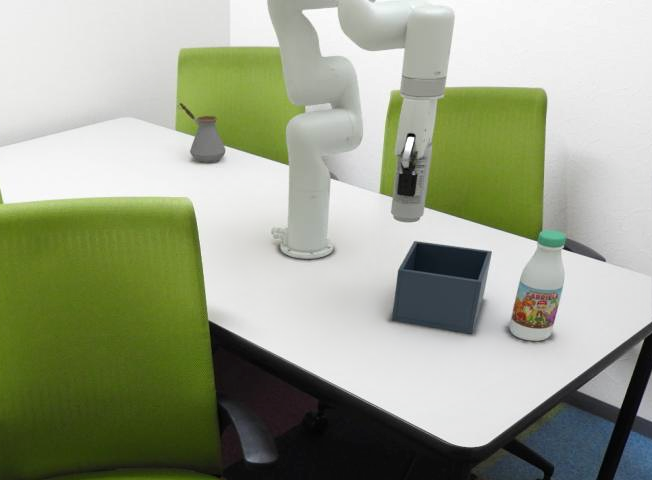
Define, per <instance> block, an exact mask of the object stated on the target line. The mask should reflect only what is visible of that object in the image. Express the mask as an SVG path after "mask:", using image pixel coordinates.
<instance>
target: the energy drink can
mask: <svg viewBox="0 0 652 480" xmlns="http://www.w3.org/2000/svg"><path fill="white" fill-rule="evenodd" d="M403 151H404V149H403ZM432 153H433V145H432V142H430V139H429V142H428V144H427V146H426V149H425V151H424V155H423V156H422V157H421V158H419V160H418V165H417V171H416V174H418V176H417V183H416V191H415V195H414V196H413V197H411V196H403V195H398V194H397V189H398V180H399V173H400V167H401V162H402V156H403V152H402V153H401V155H399V156H398V157H397V156H396V164H395V171H394V172H395V173H394V183H393V191H392V200H391V207H390V213H391V215H392V217H393V219H394V220H395V221H397V222H401V223H415V222H418V221H420V220H421V218H422V217H423V216H424V215H425V214H424V212H425V206H426V198H427V191H428V183H429V177H430V171H431V163H432V162H431V161H432V155H433V154H432ZM416 154H417V153H415V152H412V155H411V156H416ZM411 162H412V163H413V165H414V160H411Z"/></svg>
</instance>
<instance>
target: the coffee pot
mask: <svg viewBox="0 0 652 480" xmlns="http://www.w3.org/2000/svg"><path fill="white" fill-rule="evenodd" d="M179 106H180V108H179ZM177 109H179V110H181V109H182V110H184V112H185V113H186V114H187V115H188V116H189V117H190V119H192V120H193V121H194V122H195V124H197V125H198V127H197V130H196V132H195V136H194V138H193V140H192V143H191V147H190V149H189V153H190V155H191V157H192V158H193V159H195V161H196V162H198V163H203V164H211V163H217V162H220V160H221V159H222V158H223V157H224V156H225V154H226V148H225V145H224V142H223V140H222V138H221V136H220V133H219V131H218V129H217V126H216V122H217V120H218V117H217V116H214V115H204V116H203V115H202V116H199V117H197V118H196V117H195V116H194V114H193V113H192V112H191V111H190V109H189V108H187V106H186V105H184V103H182V102H180V103H179V104H178V105H177Z"/></svg>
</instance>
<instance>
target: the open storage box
mask: <svg viewBox="0 0 652 480" xmlns="http://www.w3.org/2000/svg"><path fill="white" fill-rule="evenodd" d="M492 253H493V251H492V250H485V249H478V248H470V247H463V246H455V245H448V244H441V243H432V242H426V241H420V240H414V241H413V242H412V244H411V246H410V248H409V250H408V251H407V253H406V254H405V257H404V258H403V261H402V262H401V264H400V266H399V267H398V269H397V274H396V275H397V276H396V284H395V292H394V301H393V308H392V309H393V310H392V317H391V321H394V322H398V323H404V324H411V325H416V326H422V327H428V328H435V329H439V330H444V331H450V332H458V333H463V334H468V335H472V334H473V332H474V328H475V326H476V323H477V319H478V317H479V313H480V310H481V306H482V304H483V300H484V296H485V291H486V285H487V279H488V274H489V270H490V265H491V261H492V260H491V259H492V256H493V255H492Z"/></svg>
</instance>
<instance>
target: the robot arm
mask: <svg viewBox="0 0 652 480" xmlns="http://www.w3.org/2000/svg"><path fill="white" fill-rule="evenodd" d="M266 4H267V11H268V15H269V18H270V21H271V25H272V27H273V29H274V32H275V35H276V38H277V41H278V42H277V43H278V47H279V53H280V60H281V66H282V74H283V81H284V86H285V87H284V88H285V92H286V96H287V99H288V101H289V102H290V104H292V105H294V106H297V107H311V106H317V105H318V106H319V105H324V104H330V107H331V108H330V109H329V108H328V109H320V110H313V111H306V112H302V113H299V114H296V115H295V116H293V117H292V118H290V120H289V121H288V123H287V125H286V128H285V142H286V148H287V149H286V150H287V155H288V197H287V198H288V201H287V202H288V203H287V227H284V228H281V227H277V226H272V227H271V231H270V234H271V235H272V239H277V240H278V239H279V240H281V242H280V251H281V252H282V253H283V254H284V255H287V256H289V257H292V258H295V259H296V258H297V259H303V260H304V259H305V260H310V259H319V258H323V257H326V256H328V255H330V254H332V252H333V249H334V244H333V242H332V241H331V240H330V239H328V229H329V215H330V214H329V213H330V200H331V199H330V197H331V172H330V169H328V167H327V165H326V163H325V162H324V160H323V157H326V156H330V155H335V154H336V155H337V154H342V153H348V152H352V151H354V150H356V149H357V148H358V147H359V146H360V145H361V143H362V141H363V136H364V121H363V113H362V105H361V96H360V89H359V81H358V76H357V72H356V68H355V66H354V65H353V63H352V62H351V60H350V59H349V58H347V57H345V56H343V55H330V56H324V55H322V52H321V47H320V39H319V35H318V32H317V30H316V28H315V26H314V25H313V24H312V22H311V20H310V19H309V18H308V17H306V15H305V14H304V13H303V11H308V10H322V9H333V8H337V18H338V22H339V27H340V29H341V30H342V32H343V34H344V35H345V36H346V37H347V38H348V39H349V40H350V41H352V43H354V44H355V45H356V46H357V47H358V48H360V49H362V50H364V51H368V52H380V51H390V50H398V49H399V50H401V49H404V51H403V58H402V59H403V60H402V69H401V70H402V71H401V78H400V80H401V81H400V88H399V96H400V97H401V98H403V99H402V104H401V108H400V113H399V119H398V126H397V133H396V137H395V138H396V140H395V145H394V156H395V157H396V158H397V157H398V156H399V155H401V153H402V152H403V156H402V162H401V167H400V173H399V180H398V189H397V194H398V195H403V196H411V197H413V196H414V195H415V191H416V183H417V176H418V174H416V171H417V165H418V160H419V158H421V157H422V156H423V155H424V151H425V149H426V146H427V144H428V142H429V139H430V142H431V143H432V141H433V136H434V131H435V123H436V117H437V116H436V115H437V108H438V107H437V106H438V100H441V99H443V98H444V97H445V90H446V86H447V85H446V84H447V78H448V70H449V64H450V57H451V55H450V54H451V49H452V48H451V47H452V41H453V33H454V26H455V17H456V16H455V11H454V10H453V8H451V7H449V6H446V5H439V4H432V3H431V2H429V1H427V0H386V1H378V2H377V0H266ZM403 149H404V151H403ZM412 152H415V153H417V154H416V156H411V155H412ZM411 160H414V165H413V163H412V162H411Z"/></svg>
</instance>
